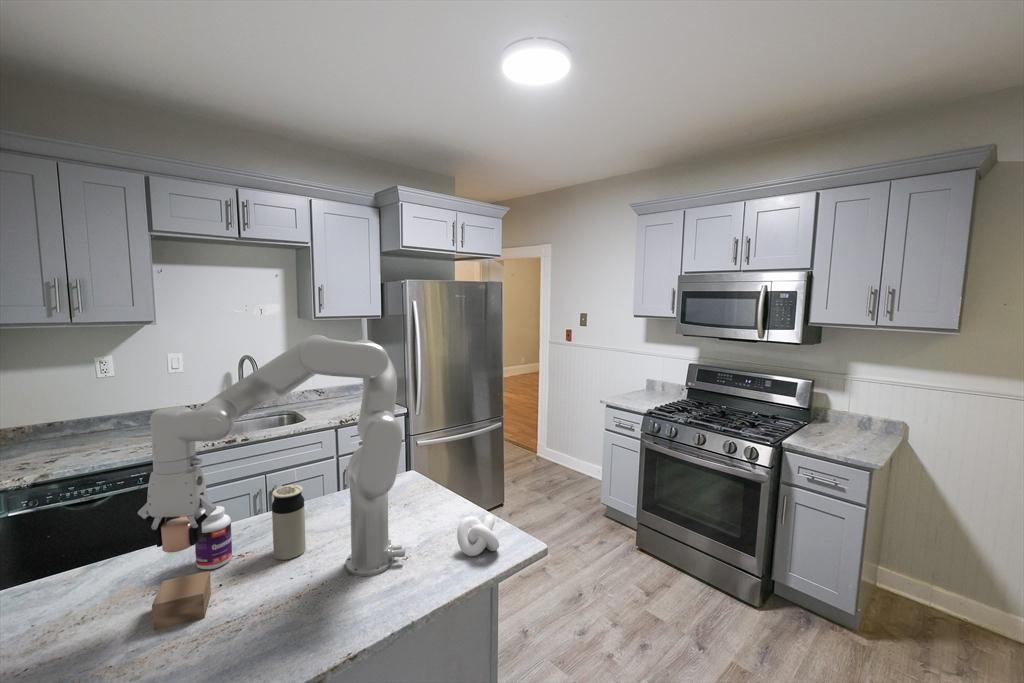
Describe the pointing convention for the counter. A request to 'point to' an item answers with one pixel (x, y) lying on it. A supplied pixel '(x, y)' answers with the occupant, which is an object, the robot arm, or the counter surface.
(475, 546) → the white knot sculpture
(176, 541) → the peach rounded cylinder
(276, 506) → the travel mug
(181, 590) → the walnut box
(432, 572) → the counter surface
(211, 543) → the pill bottle
